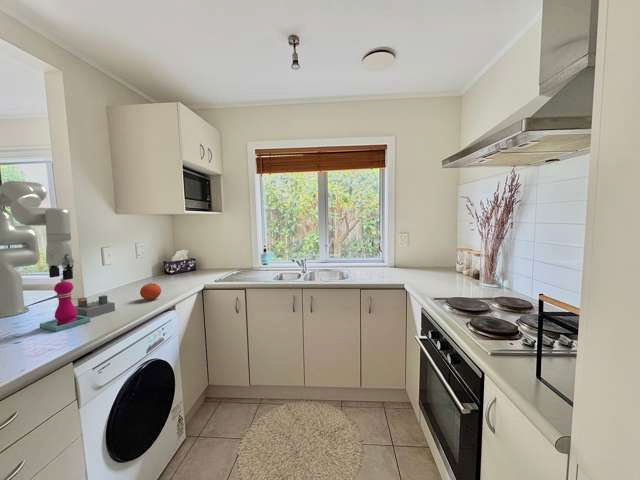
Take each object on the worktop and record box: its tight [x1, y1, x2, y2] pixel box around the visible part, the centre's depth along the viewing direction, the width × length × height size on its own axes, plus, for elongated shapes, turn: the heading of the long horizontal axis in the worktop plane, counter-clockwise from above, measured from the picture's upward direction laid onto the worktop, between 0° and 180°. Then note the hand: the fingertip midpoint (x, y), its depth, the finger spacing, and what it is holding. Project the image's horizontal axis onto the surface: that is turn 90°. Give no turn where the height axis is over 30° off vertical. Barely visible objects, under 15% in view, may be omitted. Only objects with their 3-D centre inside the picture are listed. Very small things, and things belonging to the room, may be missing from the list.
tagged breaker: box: [77, 297, 88, 307], centre depth 132 cm, size 3×2×4 cm
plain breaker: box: [98, 294, 109, 304], centre depth 136 cm, size 2×2×4 cm
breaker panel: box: [74, 299, 116, 319], centre depth 135 cm, size 12×12×4 cm
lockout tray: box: [39, 315, 91, 333], centre depth 119 cm, size 12×12×2 cm
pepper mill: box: [53, 277, 77, 326], centre depth 118 cm, size 7×7×20 cm
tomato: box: [139, 281, 162, 301], centre depth 157 cm, size 10×10×10 cm
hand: (61, 278), depth 118 cm, fingers open, 9 cm apart
